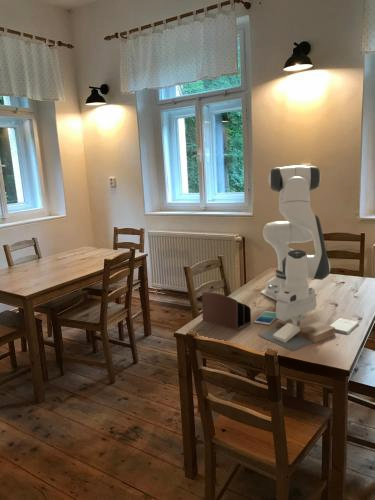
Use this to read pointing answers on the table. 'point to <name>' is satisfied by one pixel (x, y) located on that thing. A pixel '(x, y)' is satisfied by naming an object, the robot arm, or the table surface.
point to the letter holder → (225, 311)
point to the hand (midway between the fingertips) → (296, 325)
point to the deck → (310, 329)
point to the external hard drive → (344, 325)
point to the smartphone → (266, 318)
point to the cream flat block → (286, 332)
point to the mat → (291, 344)
